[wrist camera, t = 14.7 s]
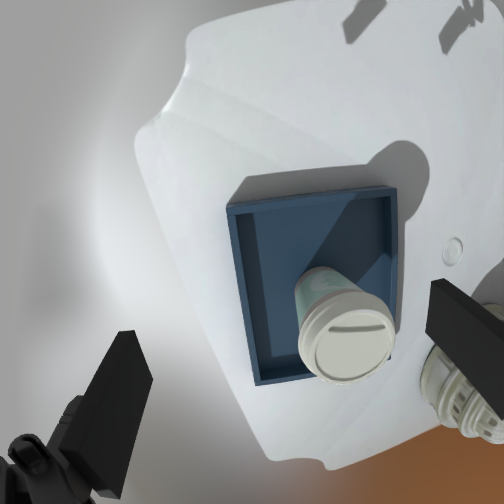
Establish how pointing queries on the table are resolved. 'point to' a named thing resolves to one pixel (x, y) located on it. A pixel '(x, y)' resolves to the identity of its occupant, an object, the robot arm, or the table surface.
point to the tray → (307, 263)
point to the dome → (460, 395)
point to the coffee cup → (341, 327)
